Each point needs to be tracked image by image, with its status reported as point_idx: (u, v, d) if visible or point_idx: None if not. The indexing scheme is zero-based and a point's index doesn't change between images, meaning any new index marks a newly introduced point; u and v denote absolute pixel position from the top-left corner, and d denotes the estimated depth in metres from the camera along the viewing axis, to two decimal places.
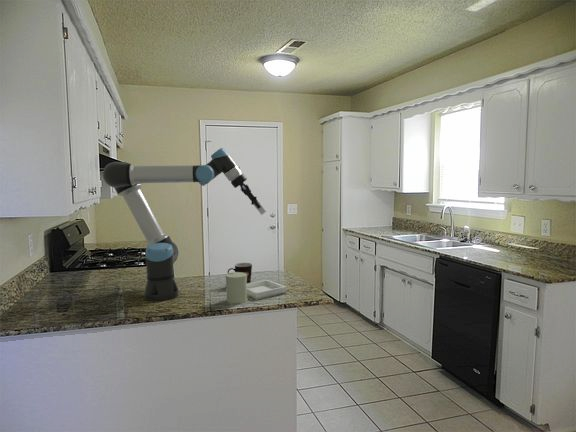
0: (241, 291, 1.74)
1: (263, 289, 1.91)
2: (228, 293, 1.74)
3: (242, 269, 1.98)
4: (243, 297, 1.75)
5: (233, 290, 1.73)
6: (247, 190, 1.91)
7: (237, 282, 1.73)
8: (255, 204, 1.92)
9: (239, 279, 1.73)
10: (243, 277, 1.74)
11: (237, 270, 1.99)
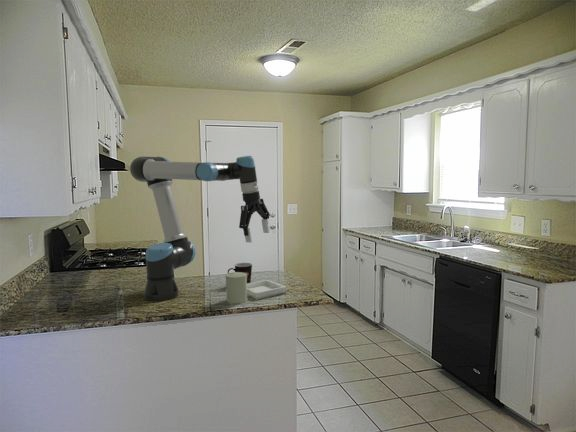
0: (241, 291, 1.74)
1: (263, 289, 1.91)
2: (228, 293, 1.74)
3: (242, 269, 1.98)
4: (243, 297, 1.75)
5: (233, 290, 1.73)
6: (243, 213, 1.75)
7: (237, 282, 1.73)
8: (243, 230, 1.76)
9: (239, 279, 1.73)
10: (243, 277, 1.74)
11: (237, 270, 1.99)
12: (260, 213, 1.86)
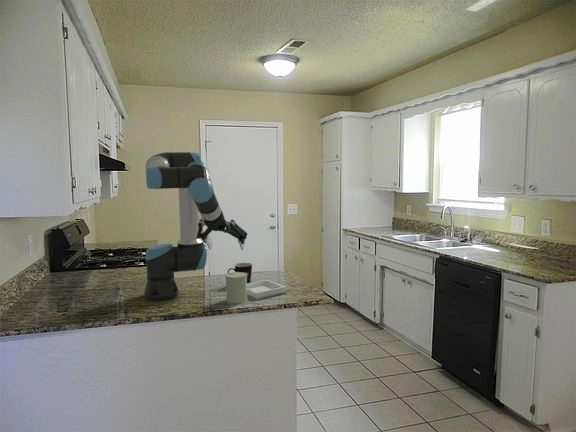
0: (241, 291, 1.74)
1: (263, 289, 1.91)
2: (228, 293, 1.74)
3: (242, 269, 1.98)
4: (243, 297, 1.75)
5: (233, 290, 1.73)
6: (199, 227, 1.56)
7: (237, 282, 1.73)
8: None
9: (239, 279, 1.73)
10: (243, 277, 1.74)
11: (237, 270, 1.99)
12: None
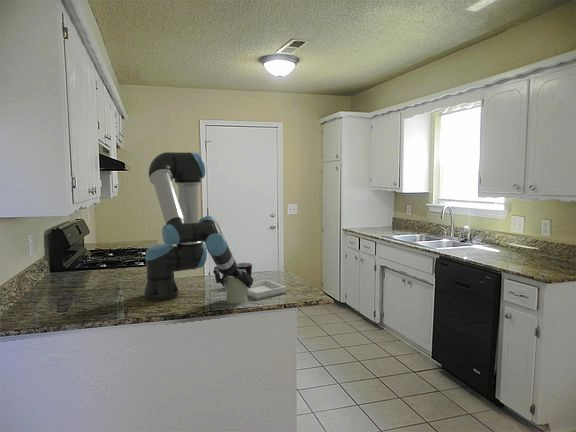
0: (241, 291, 1.74)
1: (263, 289, 1.91)
2: (228, 293, 1.74)
3: None
4: (243, 297, 1.75)
5: (233, 290, 1.73)
6: None
7: (237, 282, 1.73)
8: None
9: None
10: None
11: None
12: None
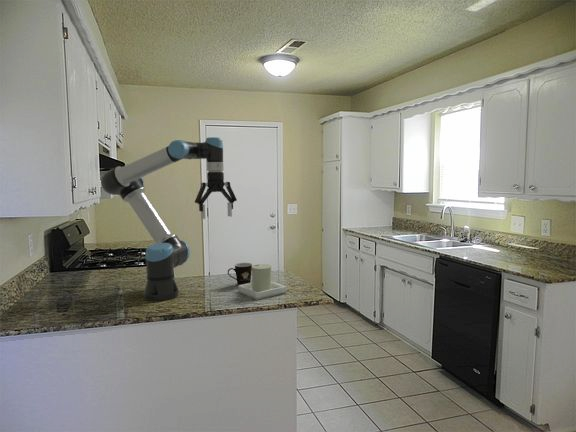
0: (266, 282, 1.84)
1: None
2: (254, 284, 1.85)
3: (242, 269, 1.98)
4: (268, 287, 1.86)
5: (259, 281, 1.84)
6: (201, 189, 1.84)
7: (263, 273, 1.83)
8: (199, 205, 1.85)
9: (265, 270, 1.84)
10: (268, 269, 1.85)
11: (237, 270, 1.99)
12: (225, 195, 1.91)
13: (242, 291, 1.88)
